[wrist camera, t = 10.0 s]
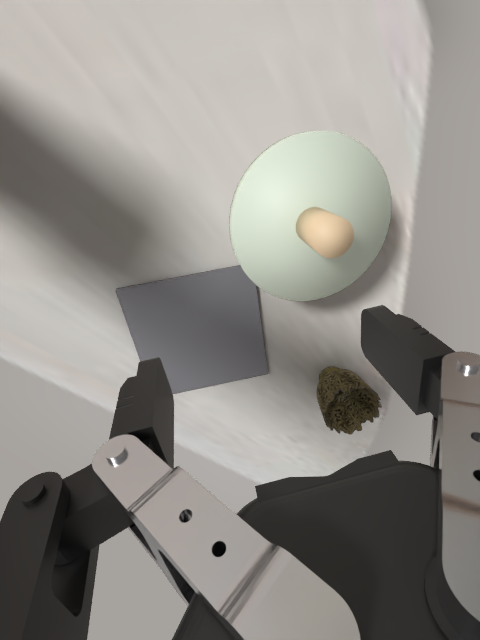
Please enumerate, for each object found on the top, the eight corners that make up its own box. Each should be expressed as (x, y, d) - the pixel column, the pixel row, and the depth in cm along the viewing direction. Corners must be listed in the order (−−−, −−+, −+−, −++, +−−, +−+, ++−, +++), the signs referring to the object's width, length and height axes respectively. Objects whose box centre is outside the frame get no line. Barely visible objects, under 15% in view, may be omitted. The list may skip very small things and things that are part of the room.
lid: (213, 149, 28) (220, 150, 22) (387, 115, 28) (435, 108, 23) (243, 310, 35) (254, 340, 29) (382, 279, 36) (418, 303, 30)
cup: (320, 403, 51) (341, 443, 44) (295, 373, 48) (314, 412, 41) (362, 376, 50) (391, 413, 43) (339, 344, 47) (366, 378, 40)
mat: (116, 288, 39) (115, 290, 38) (252, 262, 40) (253, 264, 39) (153, 395, 46) (153, 398, 46) (267, 371, 47) (268, 373, 47)
